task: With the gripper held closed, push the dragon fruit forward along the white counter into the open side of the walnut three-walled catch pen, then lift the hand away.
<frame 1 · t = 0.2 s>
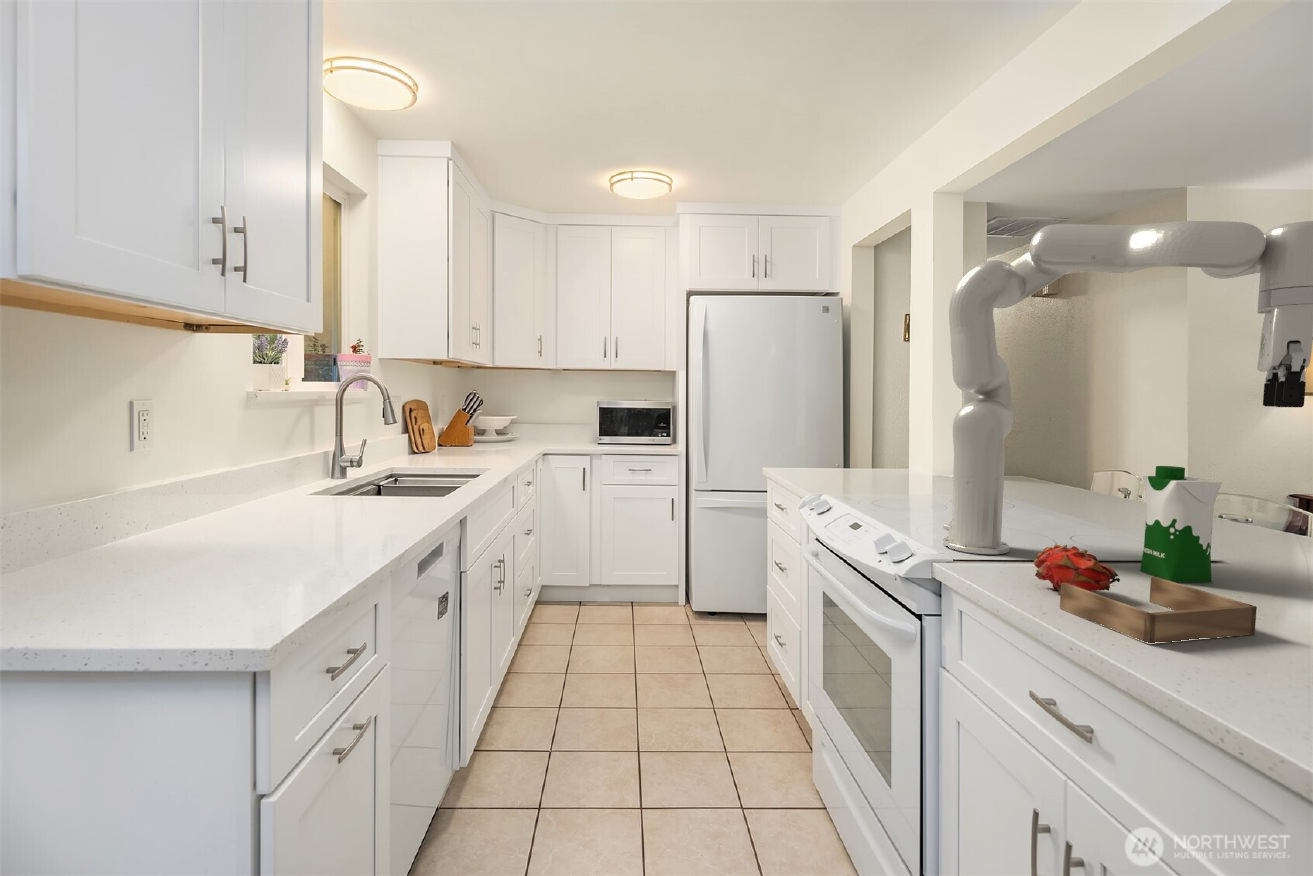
hand: (1282, 406, 99), 31 cm above the countertop, tool pointing down, fingers open, 9 cm apart
tray: (1151, 621, 87), on the countertop
dragon fruit: (1073, 593, 100), on the countertop
milk carton: (1175, 577, 109), on the countertop
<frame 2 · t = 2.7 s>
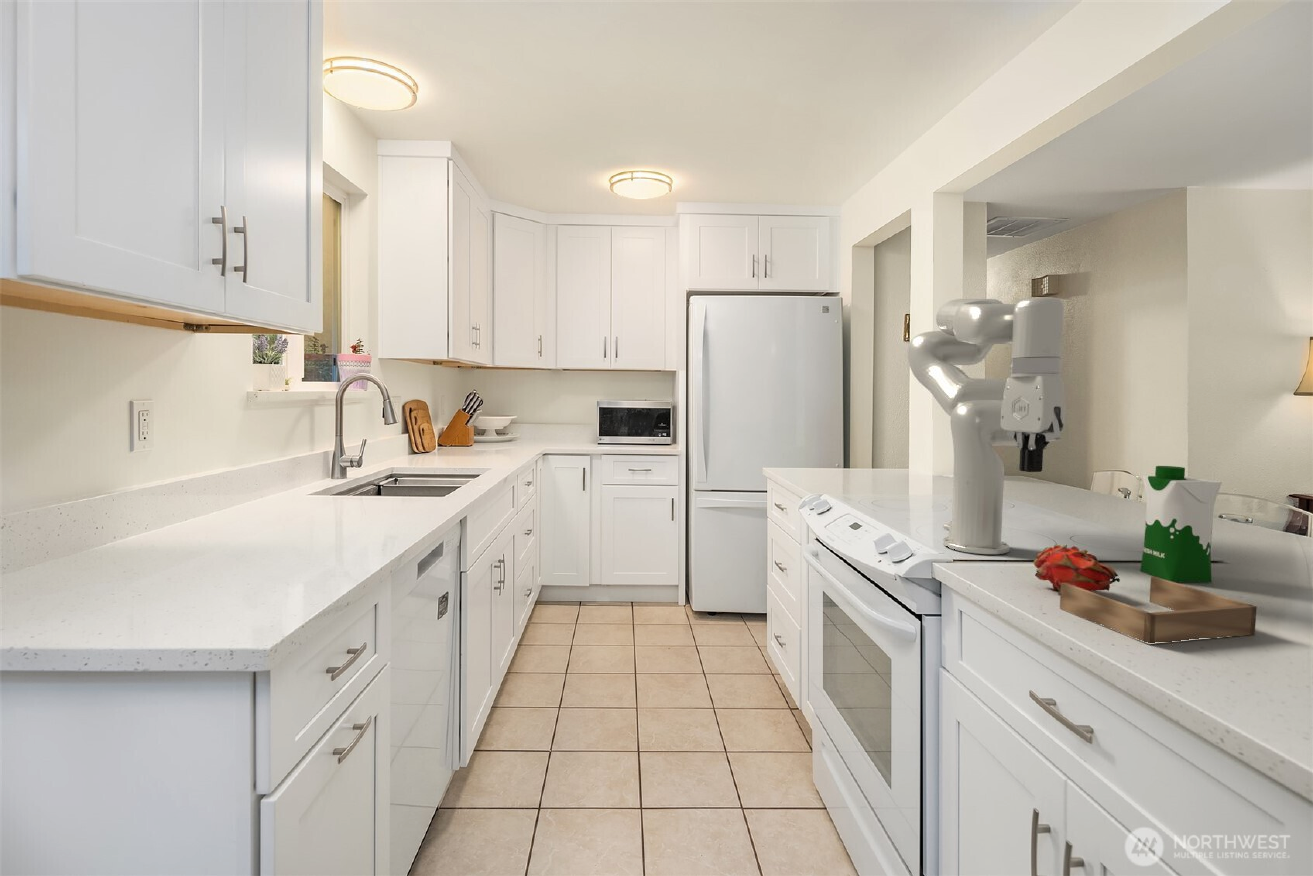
hand: (1030, 471, 109), 19 cm above the countertop, tool pointing down, fingers closed
nothing on the countertop moved.
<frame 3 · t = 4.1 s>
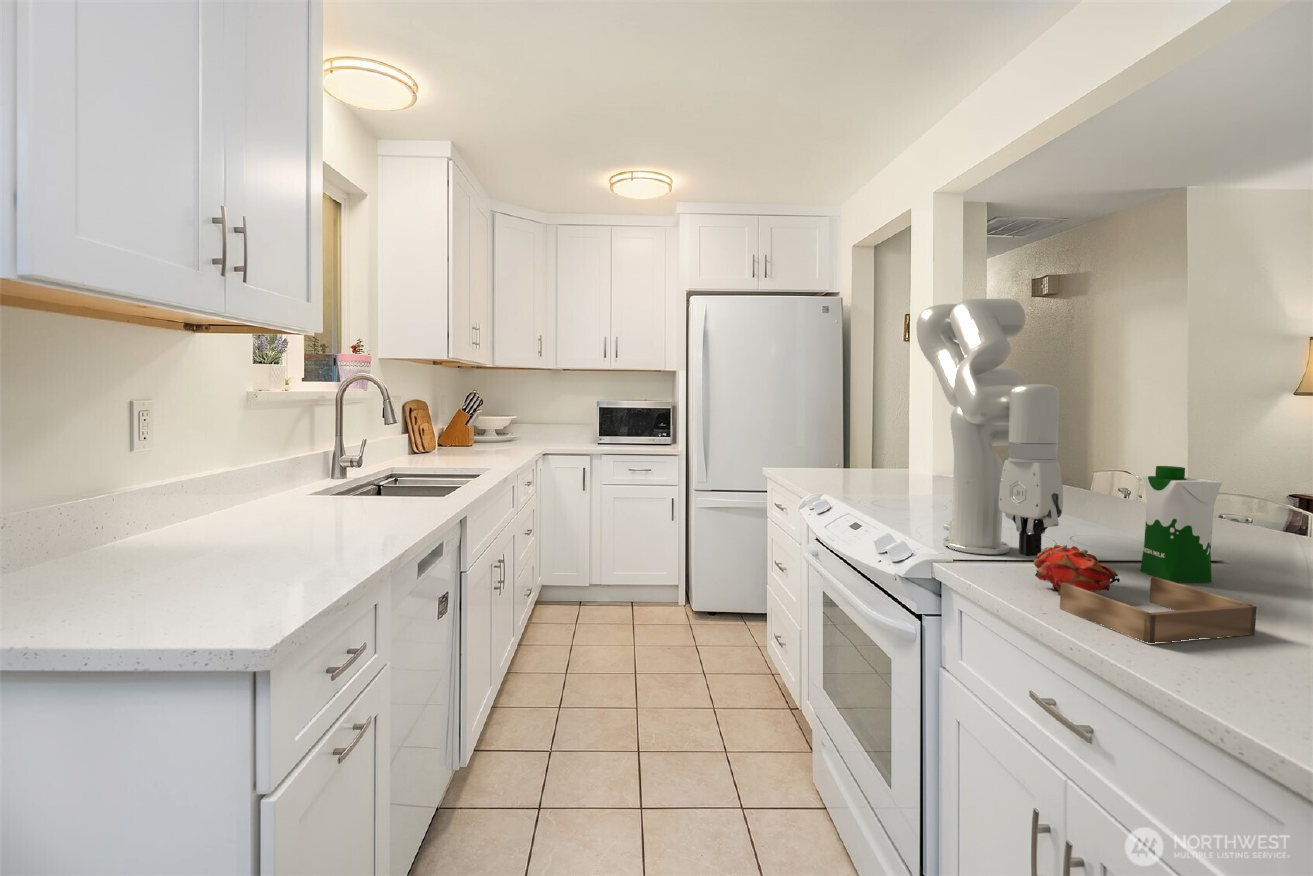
hand: (1029, 554, 109), 4 cm above the countertop, tool pointing down, fingers closed
nothing on the countertop moved.
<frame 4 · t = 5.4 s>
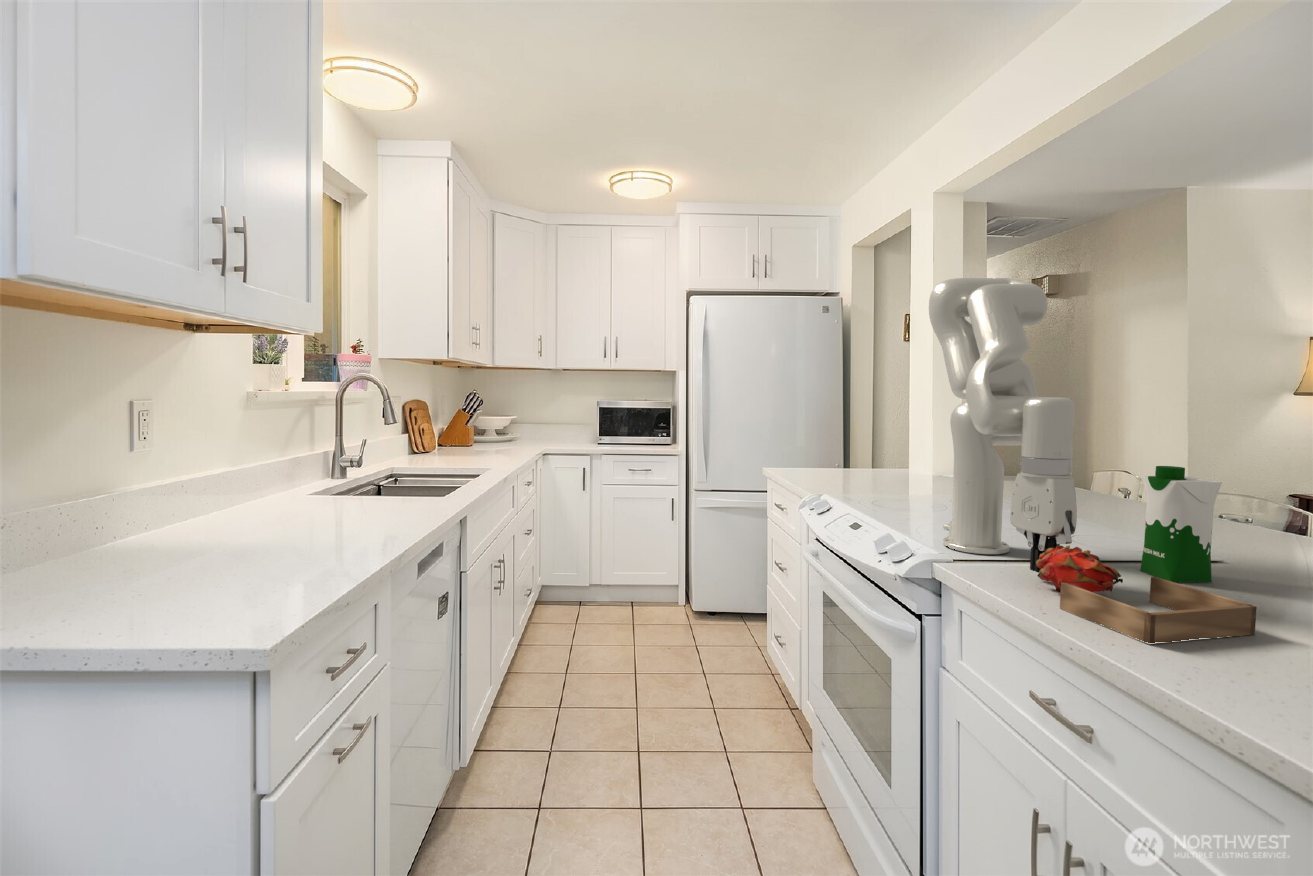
hand: (1041, 570, 106), 2 cm above the countertop, tool pointing down, fingers closed
dragon fruit: (1076, 594, 100), on the countertop, touching gripper
everything else where it was.
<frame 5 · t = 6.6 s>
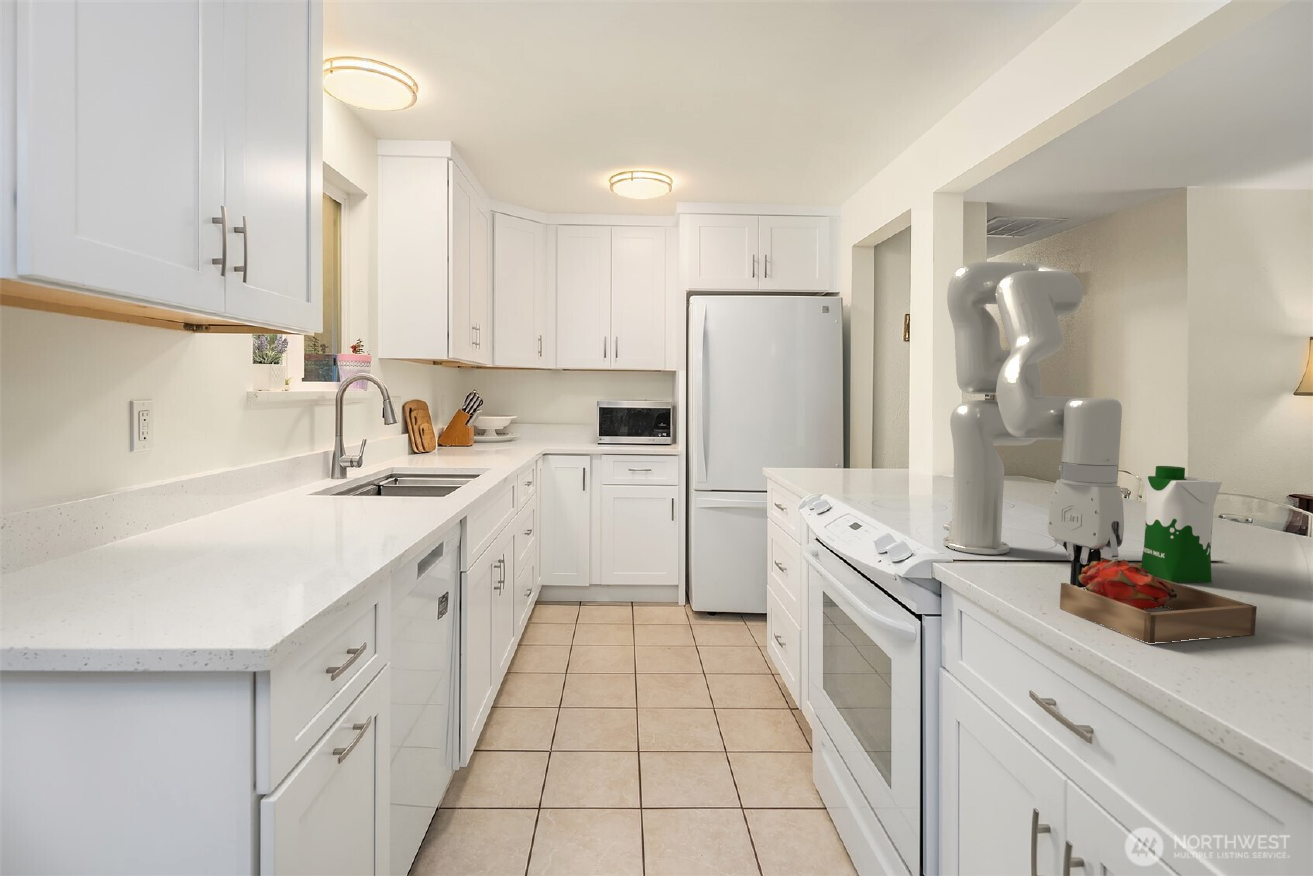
hand: (1082, 585, 98), 2 cm above the countertop, tool pointing down, fingers closed
dragon fruit: (1123, 611, 92), on the countertop, touching gripper
everything else where it was.
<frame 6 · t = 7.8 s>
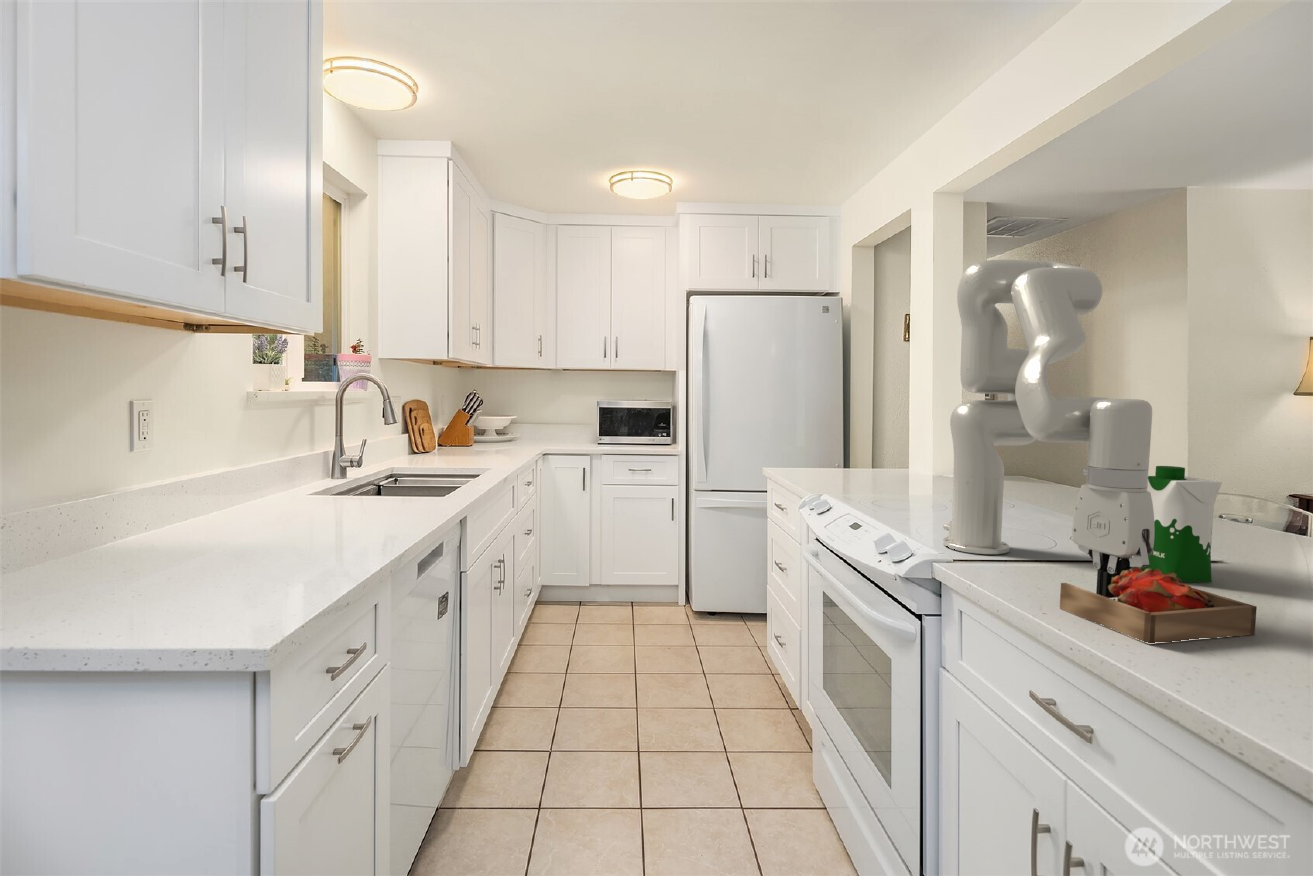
hand: (1109, 595, 94), 2 cm above the countertop, tool pointing down, fingers closed
dragon fruit: (1157, 623, 87), on the countertop, touching gripper
everything else where it was.
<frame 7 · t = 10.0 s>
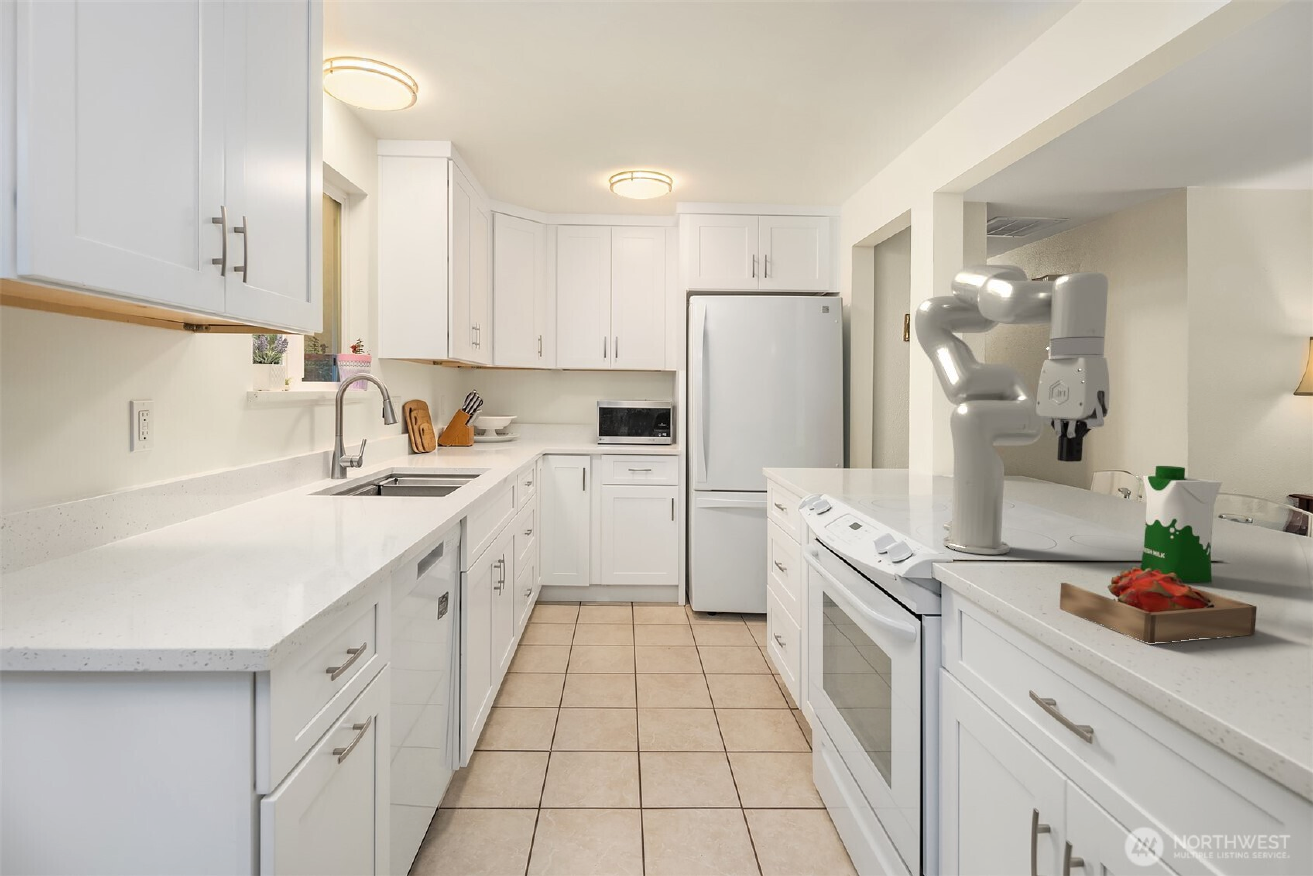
hand: (1069, 460, 101), 22 cm above the countertop, tool pointing down, fingers closed
dragon fruit: (1157, 623, 87), on the countertop
everything else where it was.
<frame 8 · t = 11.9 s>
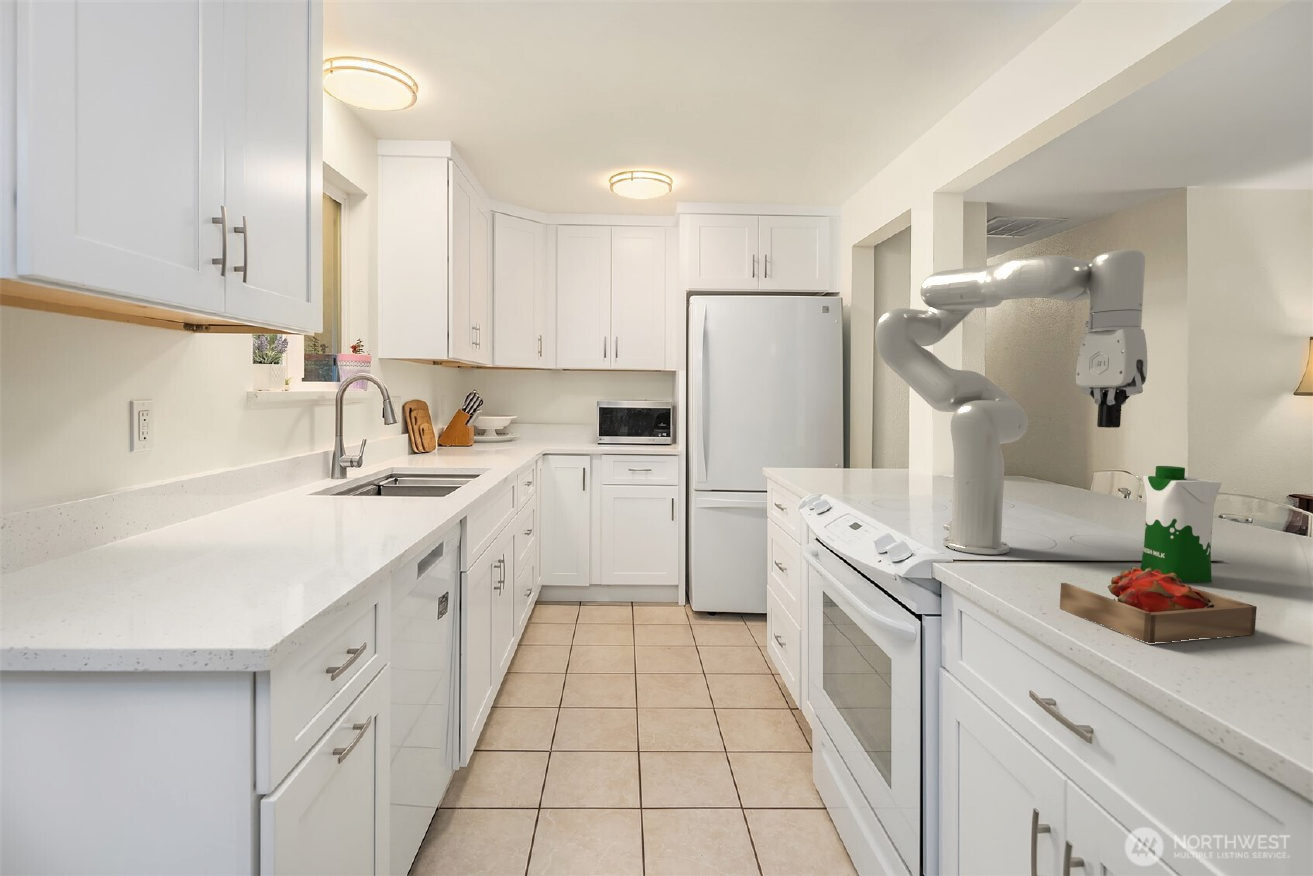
hand: (1108, 427, 108), 27 cm above the countertop, tool pointing down, fingers closed
nothing on the countertop moved.
at the end: dragon fruit inside the target area on the tray (0.8 cm from its centre), point 0.0 cm above the tray's base; dragon fruit moved 13.4 cm from its start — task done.
